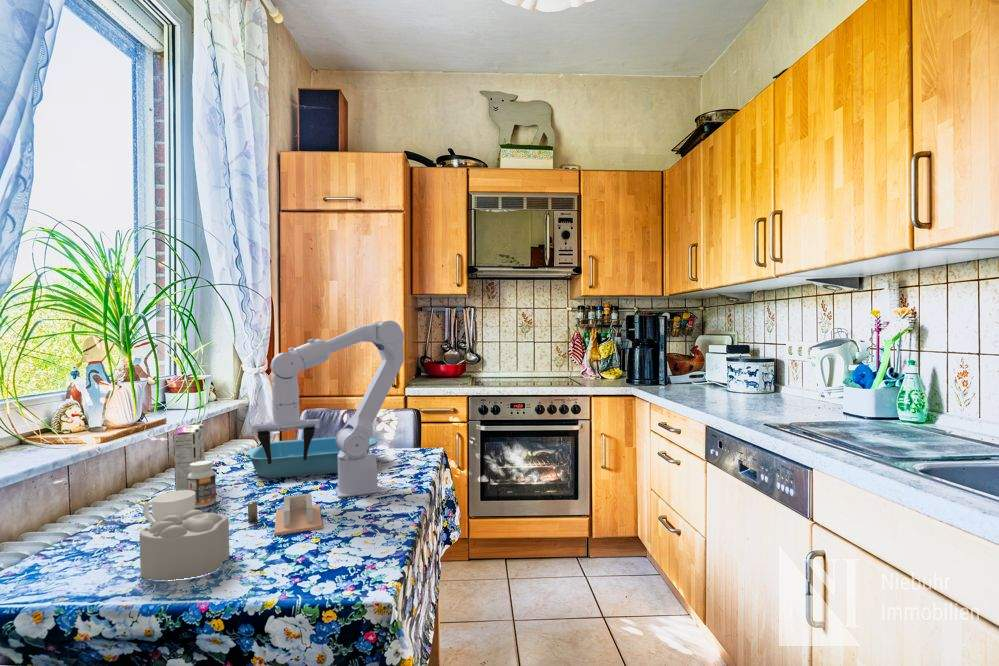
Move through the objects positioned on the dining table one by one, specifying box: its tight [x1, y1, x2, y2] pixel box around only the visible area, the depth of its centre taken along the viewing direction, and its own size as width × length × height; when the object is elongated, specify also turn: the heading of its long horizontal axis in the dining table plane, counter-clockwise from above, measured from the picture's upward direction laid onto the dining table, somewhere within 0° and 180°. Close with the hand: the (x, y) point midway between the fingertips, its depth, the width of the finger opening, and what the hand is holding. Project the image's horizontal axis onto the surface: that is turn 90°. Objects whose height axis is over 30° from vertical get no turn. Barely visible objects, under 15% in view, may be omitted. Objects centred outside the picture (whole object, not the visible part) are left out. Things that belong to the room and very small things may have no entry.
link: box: [282, 493, 313, 527], centre depth 110 cm, size 6×10×3 cm, turn 22°
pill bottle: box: [187, 460, 217, 509], centre depth 121 cm, size 6×6×10 cm
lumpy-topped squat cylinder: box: [139, 509, 230, 580], centre depth 89 cm, size 10×13×9 cm
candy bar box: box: [172, 423, 206, 491], centre depth 131 cm, size 11×5×16 cm, turn 20°
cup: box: [142, 490, 196, 524], centre depth 107 cm, size 8×10×7 cm
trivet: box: [273, 503, 323, 537], centre depth 110 cm, size 9×14×1 cm, turn 22°
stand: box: [247, 501, 259, 524], centre depth 109 cm, size 2×2×4 cm
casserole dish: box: [244, 436, 378, 479], centre depth 152 cm, size 37×22×7 cm, turn 103°
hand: (287, 461), depth 121 cm, fingers open, 7 cm apart
